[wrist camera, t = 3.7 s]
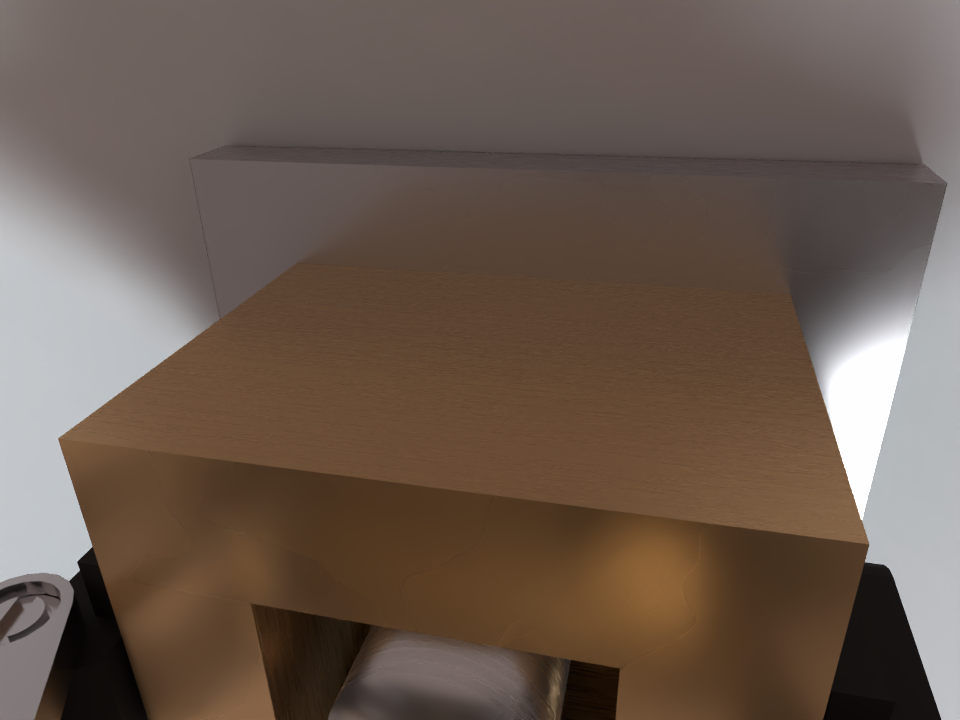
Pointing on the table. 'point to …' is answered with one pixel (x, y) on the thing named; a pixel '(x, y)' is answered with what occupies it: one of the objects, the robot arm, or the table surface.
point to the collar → (478, 495)
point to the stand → (596, 258)
